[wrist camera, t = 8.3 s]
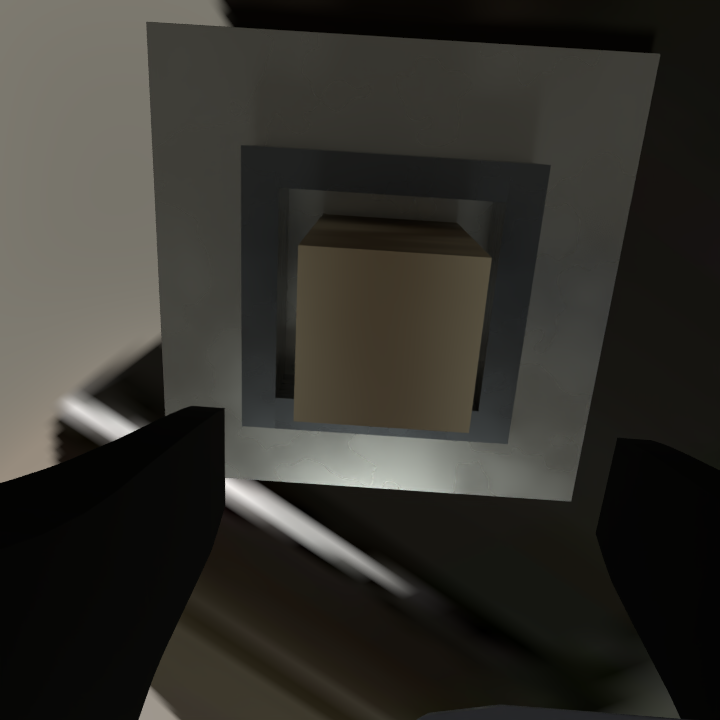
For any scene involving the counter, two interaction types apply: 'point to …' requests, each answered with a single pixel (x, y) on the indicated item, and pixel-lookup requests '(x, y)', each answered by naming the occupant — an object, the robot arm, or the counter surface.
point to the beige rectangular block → (388, 323)
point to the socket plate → (397, 201)
